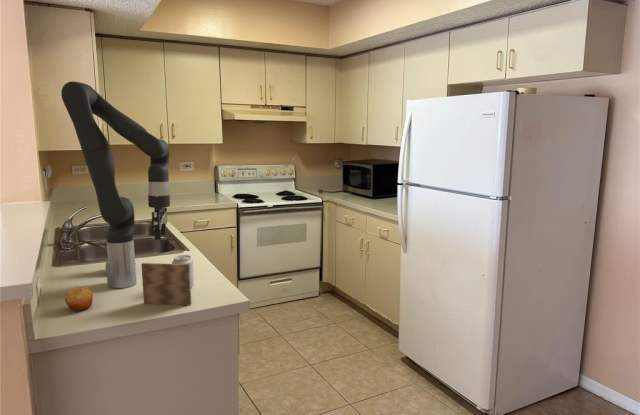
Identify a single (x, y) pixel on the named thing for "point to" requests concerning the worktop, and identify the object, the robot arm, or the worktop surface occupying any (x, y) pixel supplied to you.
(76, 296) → the fruit
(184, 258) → the can
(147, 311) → the worktop surface
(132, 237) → the robot arm
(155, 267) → the brown wooden block
